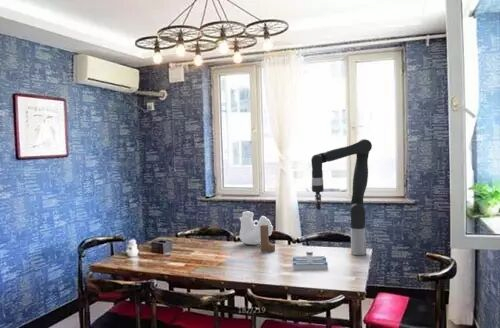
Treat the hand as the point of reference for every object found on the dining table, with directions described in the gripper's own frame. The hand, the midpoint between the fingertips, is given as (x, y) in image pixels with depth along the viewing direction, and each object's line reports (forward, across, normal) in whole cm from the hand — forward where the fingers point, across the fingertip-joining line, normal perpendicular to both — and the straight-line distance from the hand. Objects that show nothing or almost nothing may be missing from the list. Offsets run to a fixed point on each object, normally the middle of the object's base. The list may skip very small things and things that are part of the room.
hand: (318, 208), depth 275 cm
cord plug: (+30, -29, +8) cm, 43 cm away
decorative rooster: (+30, +28, +45) cm, 61 cm away
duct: (+30, -24, +8) cm, 39 cm away
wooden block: (+30, +8, +35) cm, 47 cm away
